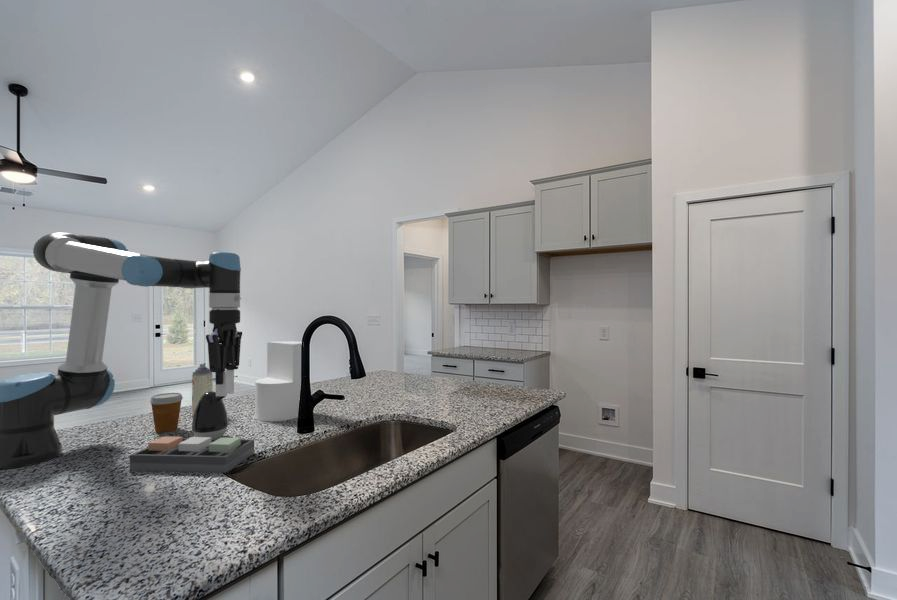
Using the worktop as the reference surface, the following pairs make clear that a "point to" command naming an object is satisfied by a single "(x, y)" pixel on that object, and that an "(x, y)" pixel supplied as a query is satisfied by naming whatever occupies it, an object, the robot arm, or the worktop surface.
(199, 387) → the aerosol can
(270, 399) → the white toilet
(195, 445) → the key grey
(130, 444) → the worktop surface
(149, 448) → the key terracotta
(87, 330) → the robot arm
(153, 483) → the worktop surface
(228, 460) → the grey compartment tray
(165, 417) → the disposable coffee cup
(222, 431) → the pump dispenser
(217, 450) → the key sage
